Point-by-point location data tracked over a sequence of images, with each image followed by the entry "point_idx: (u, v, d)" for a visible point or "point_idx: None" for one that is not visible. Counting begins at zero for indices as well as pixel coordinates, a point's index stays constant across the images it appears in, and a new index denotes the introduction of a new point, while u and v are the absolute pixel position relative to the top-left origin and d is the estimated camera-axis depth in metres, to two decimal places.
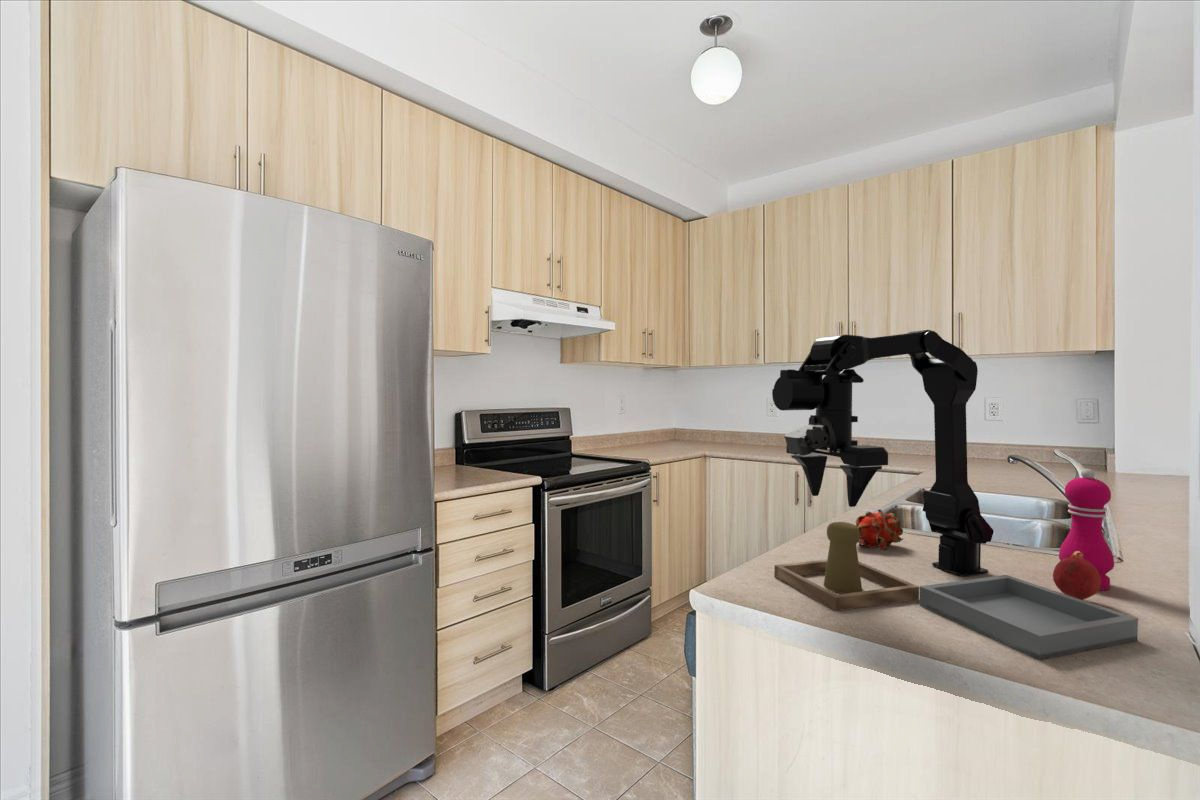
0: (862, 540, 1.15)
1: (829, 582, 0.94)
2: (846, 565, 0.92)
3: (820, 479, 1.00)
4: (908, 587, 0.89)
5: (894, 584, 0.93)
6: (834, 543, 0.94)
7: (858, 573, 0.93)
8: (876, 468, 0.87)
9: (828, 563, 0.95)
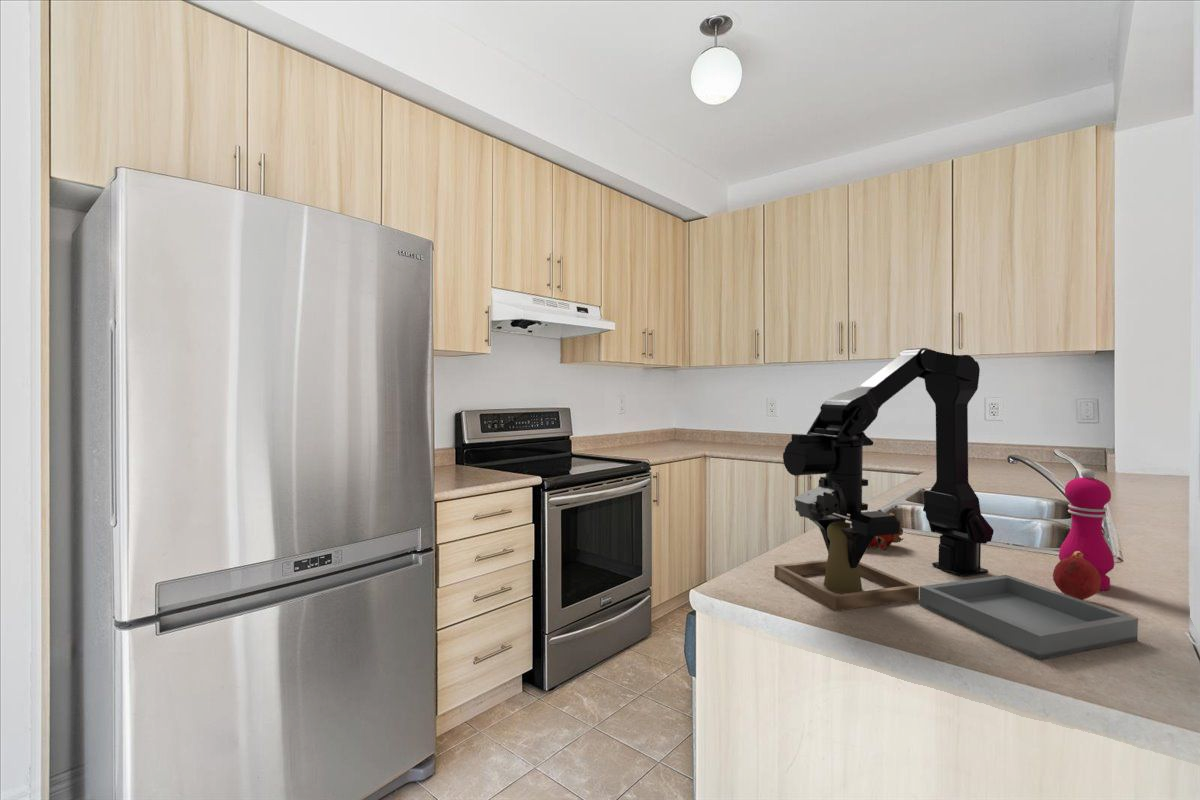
0: None
1: (829, 582, 0.94)
2: (846, 565, 0.92)
3: None
4: (908, 587, 0.89)
5: (894, 584, 0.93)
6: (834, 543, 0.94)
7: (858, 573, 0.93)
8: None
9: (828, 563, 0.95)
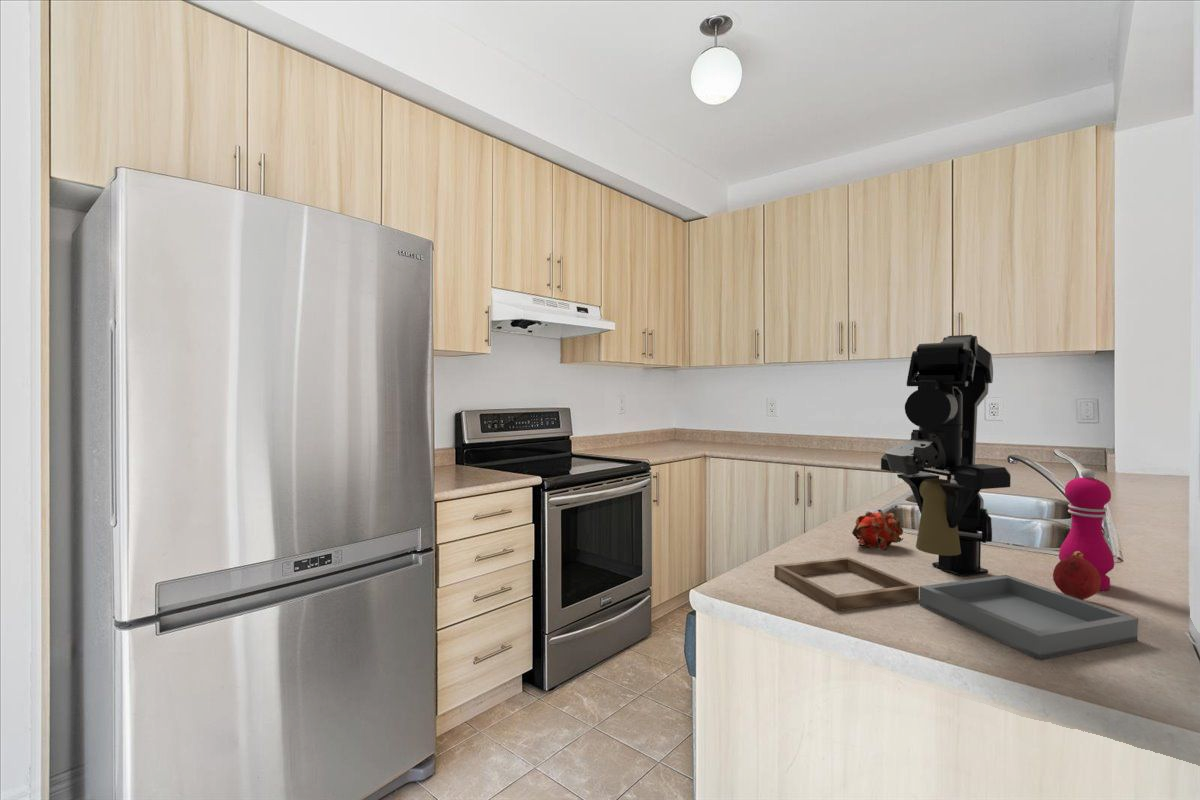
0: (862, 540, 1.15)
1: (924, 543, 0.86)
2: (944, 525, 0.84)
3: None
4: (908, 587, 0.89)
5: (894, 584, 0.93)
6: (929, 501, 0.86)
7: (957, 534, 0.85)
8: None
9: (921, 524, 0.87)
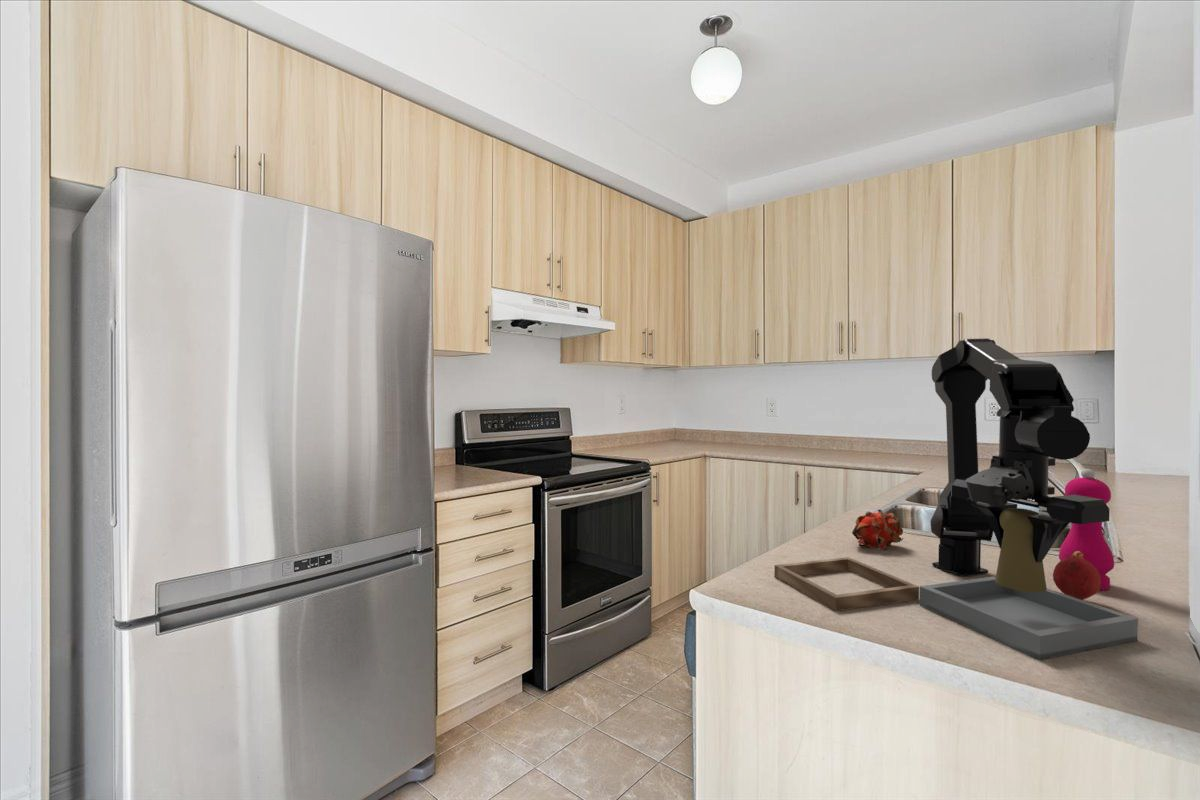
0: (862, 540, 1.15)
1: (1007, 579, 0.80)
2: (1030, 559, 0.78)
3: None
4: (908, 587, 0.89)
5: (894, 584, 0.93)
6: (1012, 533, 0.80)
7: (1043, 568, 0.79)
8: None
9: (1003, 557, 0.81)
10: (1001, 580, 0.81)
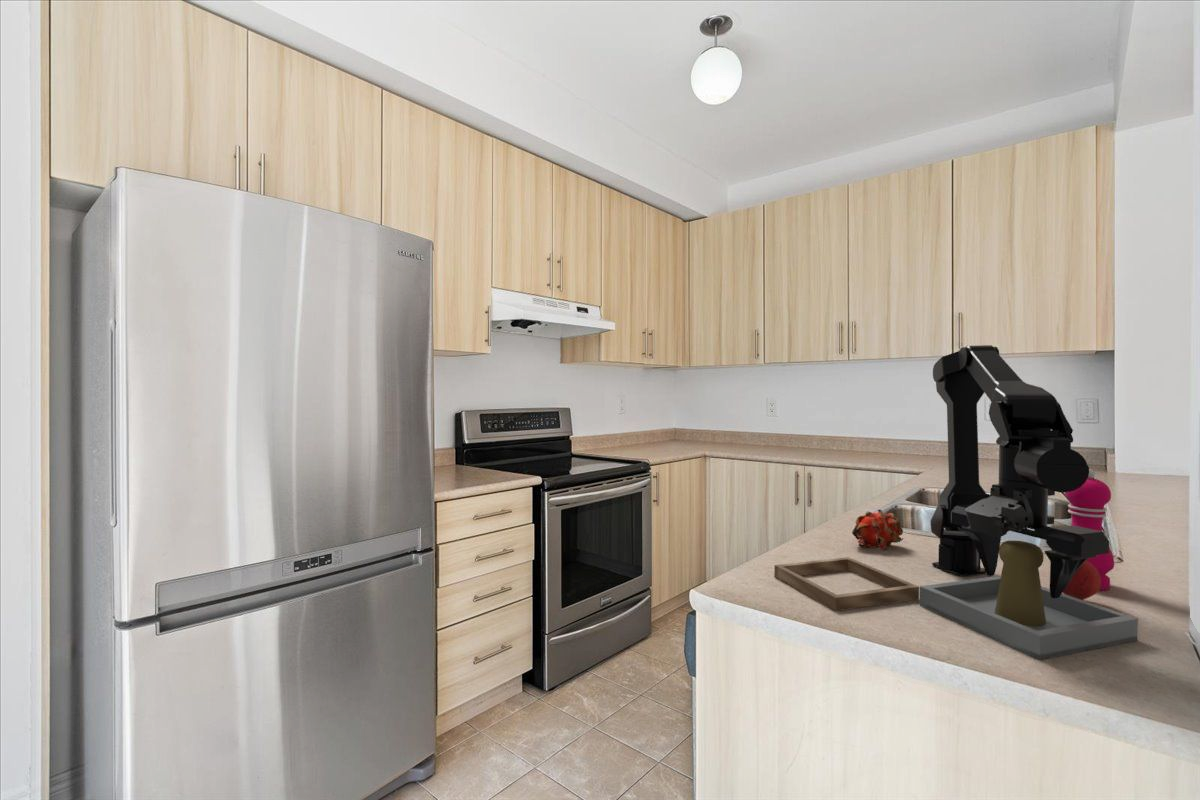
0: (862, 540, 1.15)
1: (1006, 612, 0.80)
2: (1030, 593, 0.78)
3: (996, 556, 0.85)
4: (908, 587, 0.89)
5: (894, 584, 0.93)
6: (1012, 566, 0.80)
7: (1042, 601, 0.79)
8: (1092, 556, 0.73)
9: (1003, 590, 0.81)
10: (1001, 613, 0.81)
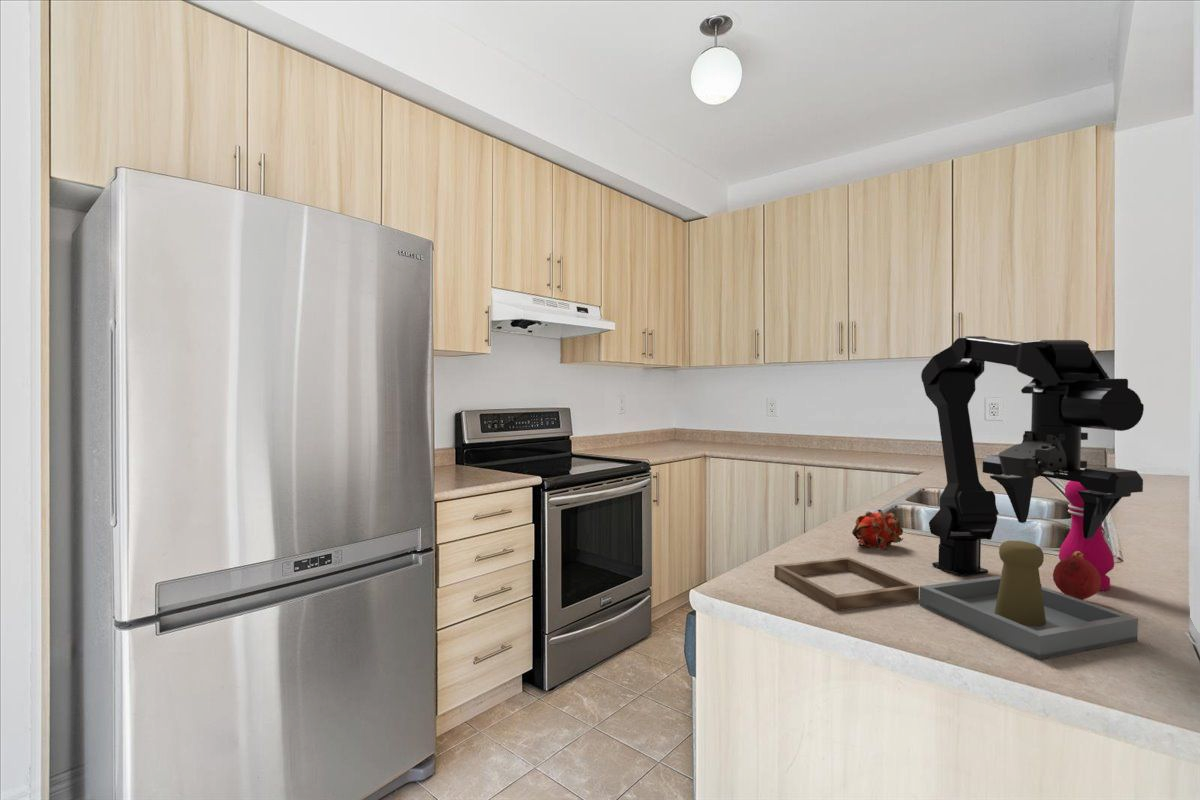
0: (862, 540, 1.15)
1: (1006, 612, 0.80)
2: (1030, 593, 0.78)
3: (1028, 503, 0.87)
4: (908, 587, 0.89)
5: (894, 584, 0.93)
6: (1012, 566, 0.80)
7: (1042, 602, 0.79)
8: (1125, 495, 0.75)
9: (1003, 590, 0.81)
10: (1001, 613, 0.81)
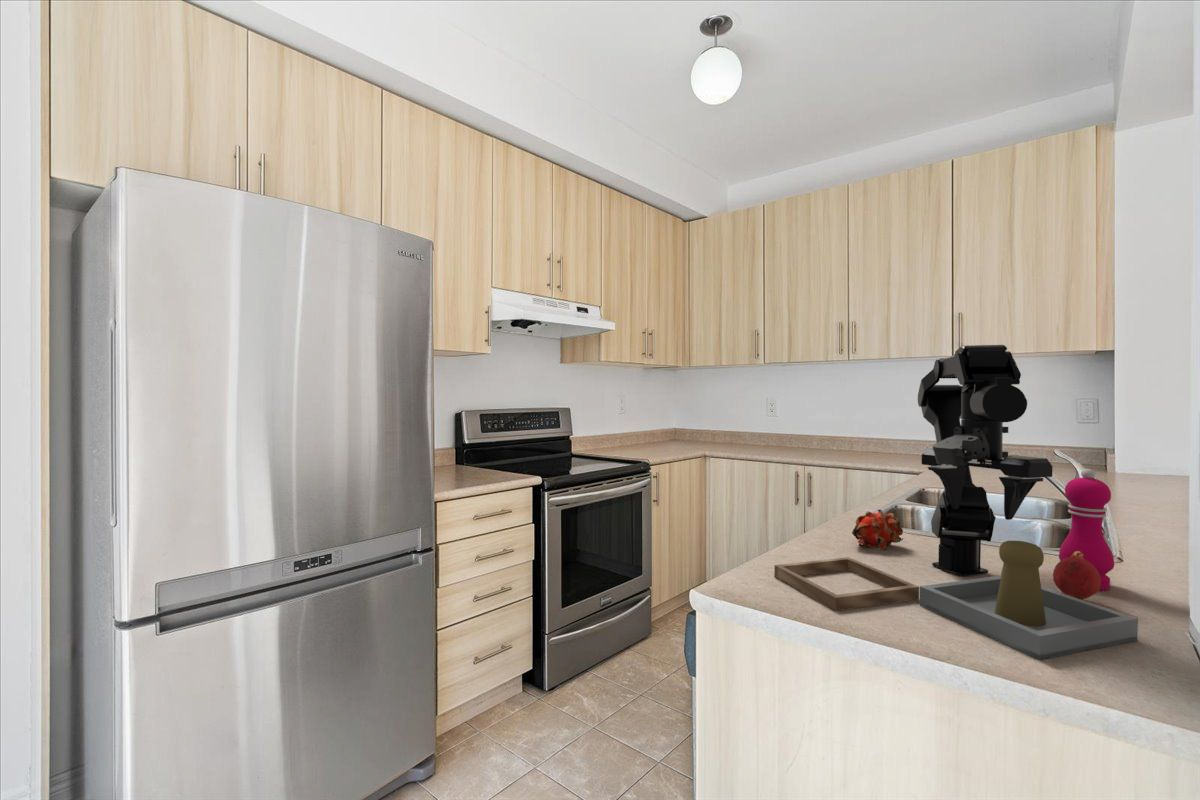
0: (862, 540, 1.15)
1: (1006, 612, 0.80)
2: (1030, 593, 0.78)
3: (960, 491, 0.97)
4: (908, 587, 0.89)
5: (894, 584, 0.93)
6: (1012, 566, 0.80)
7: (1042, 601, 0.79)
8: (1038, 480, 0.85)
9: (1003, 590, 0.81)
10: (1001, 613, 0.81)
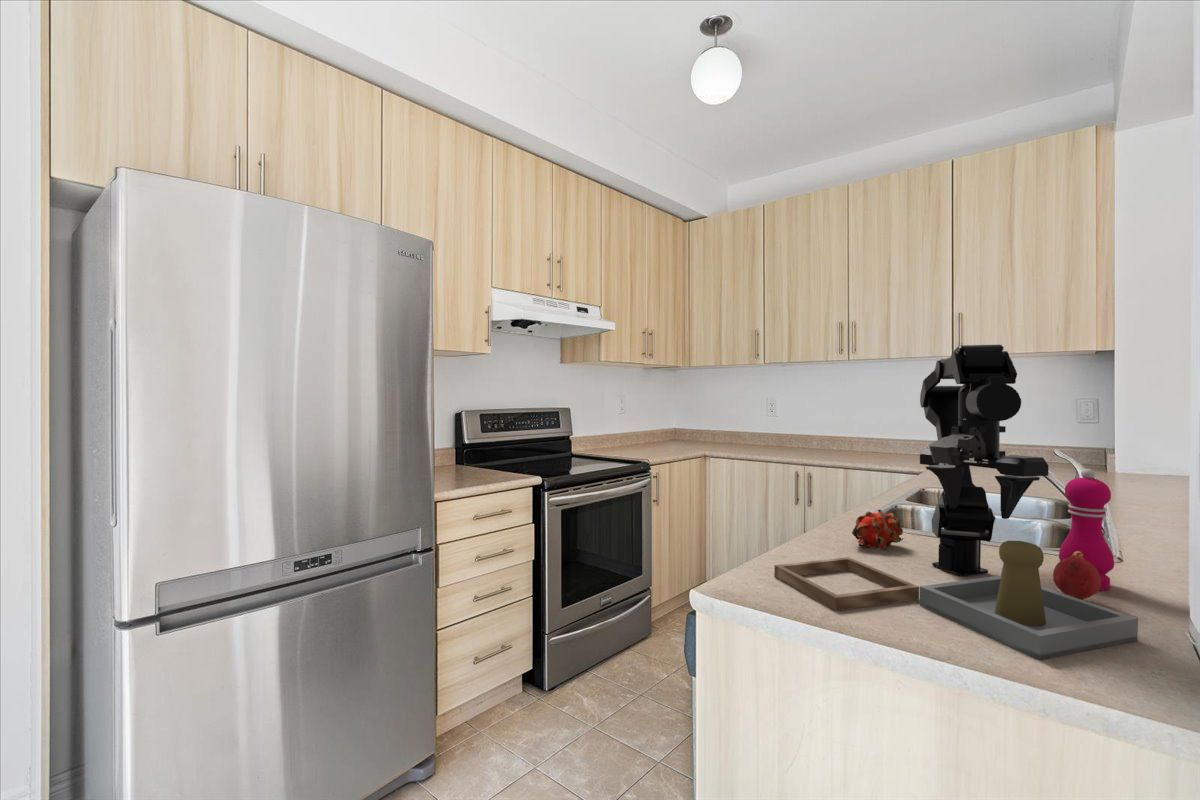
0: (862, 540, 1.15)
1: (1006, 612, 0.80)
2: (1030, 593, 0.78)
3: (958, 491, 0.97)
4: (908, 587, 0.89)
5: (894, 584, 0.93)
6: (1012, 566, 0.80)
7: (1042, 601, 0.79)
8: (1034, 479, 0.86)
9: (1003, 590, 0.81)
10: (1001, 613, 0.81)
